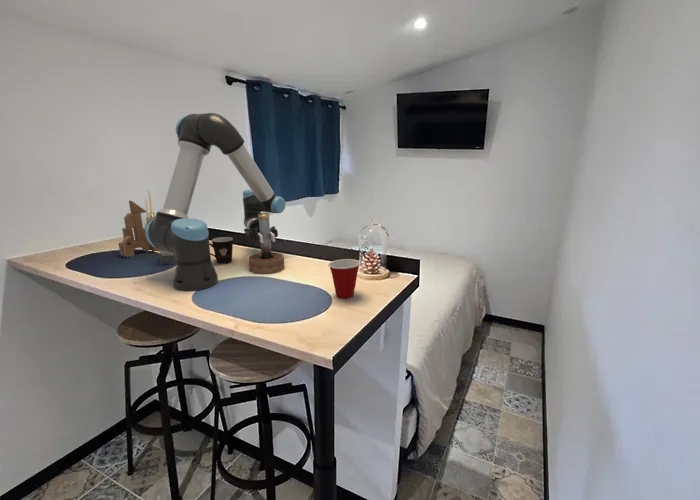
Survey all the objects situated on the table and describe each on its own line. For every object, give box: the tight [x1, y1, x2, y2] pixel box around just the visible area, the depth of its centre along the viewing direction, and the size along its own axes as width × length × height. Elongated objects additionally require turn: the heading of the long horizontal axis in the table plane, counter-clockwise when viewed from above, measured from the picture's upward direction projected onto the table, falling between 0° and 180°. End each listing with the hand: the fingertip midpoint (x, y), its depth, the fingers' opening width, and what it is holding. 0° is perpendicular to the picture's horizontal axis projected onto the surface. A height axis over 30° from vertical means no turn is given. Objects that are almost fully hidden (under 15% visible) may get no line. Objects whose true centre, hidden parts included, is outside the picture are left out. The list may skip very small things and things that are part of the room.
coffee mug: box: [209, 236, 234, 265], centre depth 159 cm, size 12×9×10 cm
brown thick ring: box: [248, 251, 285, 275], centre depth 151 cm, size 14×14×5 cm
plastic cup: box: [327, 258, 361, 300], centre depth 122 cm, size 11×11×12 cm
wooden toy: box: [118, 200, 160, 257], centre depth 168 cm, size 16×7×25 cm, turn 143°
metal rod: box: [258, 212, 272, 259], centre depth 148 cm, size 4×4×20 cm
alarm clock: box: [159, 250, 176, 265], centre depth 160 cm, size 16×10×18 cm, turn 179°
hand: (268, 239), depth 143 cm, fingers closed on metal rod, 4 cm apart
